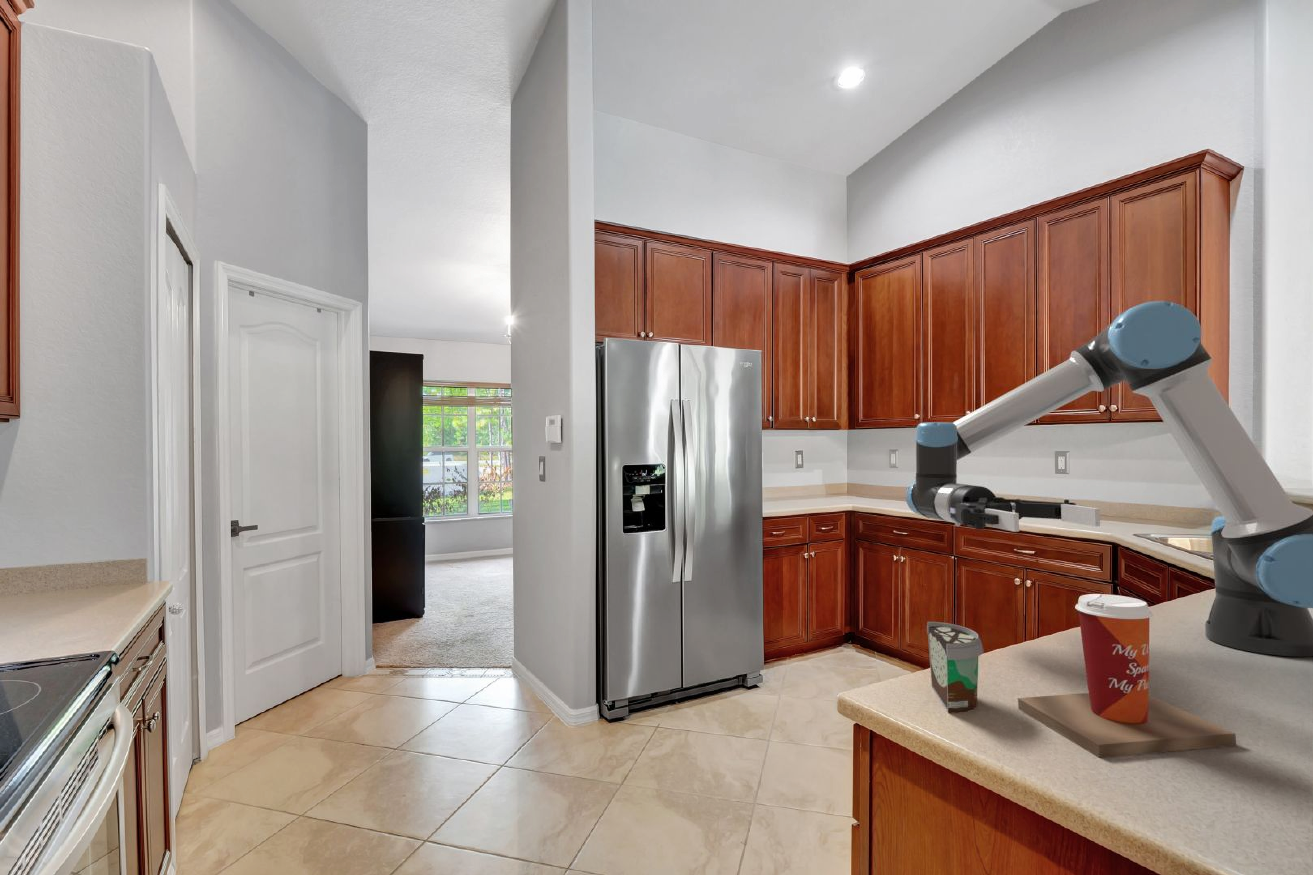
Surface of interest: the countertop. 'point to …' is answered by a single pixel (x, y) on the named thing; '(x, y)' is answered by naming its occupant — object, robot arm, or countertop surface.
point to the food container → (954, 665)
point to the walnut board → (1125, 727)
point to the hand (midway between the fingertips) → (1057, 520)
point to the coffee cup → (1116, 655)
